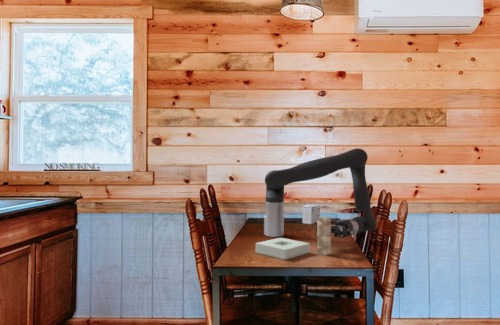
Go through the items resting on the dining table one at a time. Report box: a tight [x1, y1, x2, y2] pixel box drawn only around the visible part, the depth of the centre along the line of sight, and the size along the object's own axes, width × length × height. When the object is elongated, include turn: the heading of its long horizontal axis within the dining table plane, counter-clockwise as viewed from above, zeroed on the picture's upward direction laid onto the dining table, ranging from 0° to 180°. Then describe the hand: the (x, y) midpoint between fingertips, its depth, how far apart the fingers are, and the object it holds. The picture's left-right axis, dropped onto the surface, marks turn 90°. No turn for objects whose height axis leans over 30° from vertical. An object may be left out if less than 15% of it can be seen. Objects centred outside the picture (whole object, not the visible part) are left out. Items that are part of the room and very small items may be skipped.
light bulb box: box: [301, 203, 321, 225], centre depth 230 cm, size 11×7×11 cm, turn 141°
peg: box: [316, 216, 332, 256], centre depth 154 cm, size 4×4×15 cm
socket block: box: [254, 237, 311, 261], centre depth 156 cm, size 16×16×4 cm
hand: (325, 232), depth 155 cm, fingers open, 8 cm apart
